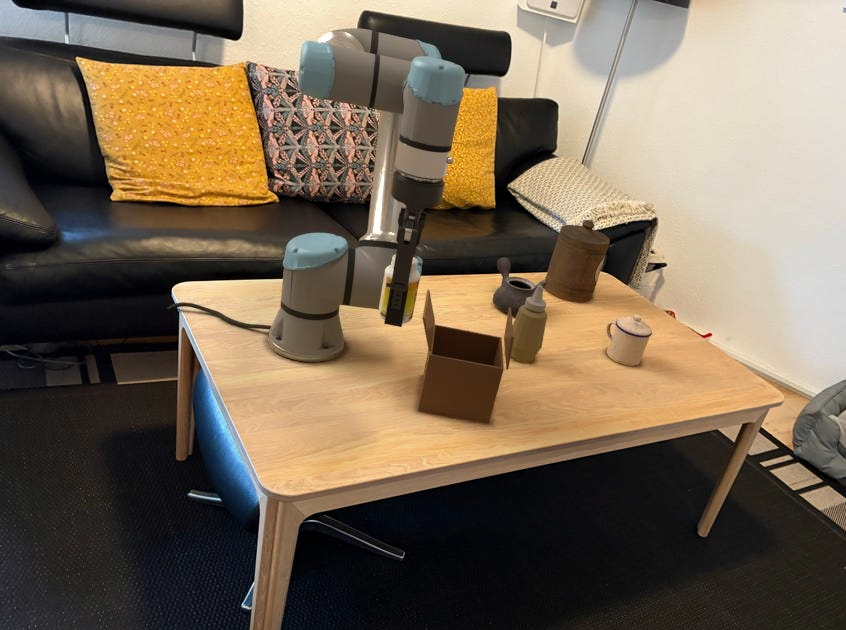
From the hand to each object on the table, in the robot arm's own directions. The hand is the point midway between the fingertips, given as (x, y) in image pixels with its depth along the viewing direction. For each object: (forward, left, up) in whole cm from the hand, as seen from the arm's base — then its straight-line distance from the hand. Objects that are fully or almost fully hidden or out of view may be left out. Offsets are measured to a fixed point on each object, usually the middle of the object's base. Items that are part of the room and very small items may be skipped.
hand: (395, 315), depth 109 cm
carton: (+14, +16, -23) cm, 31 cm away
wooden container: (+46, +87, -24) cm, 101 cm away
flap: (+6, +16, -7) cm, 18 cm away
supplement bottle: (0, 0, -1) cm, 1 cm away
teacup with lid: (+55, +51, -24) cm, 78 cm away
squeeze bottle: (+29, +40, -24) cm, 54 cm away
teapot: (+28, +70, -24) cm, 79 cm away
